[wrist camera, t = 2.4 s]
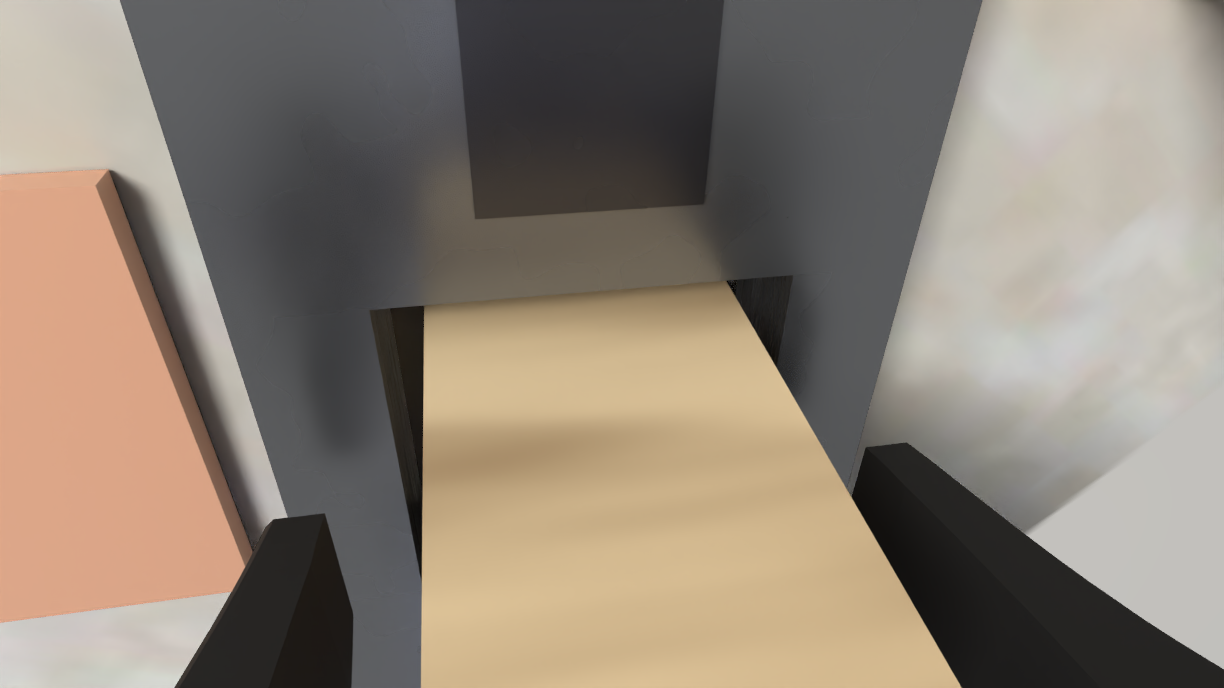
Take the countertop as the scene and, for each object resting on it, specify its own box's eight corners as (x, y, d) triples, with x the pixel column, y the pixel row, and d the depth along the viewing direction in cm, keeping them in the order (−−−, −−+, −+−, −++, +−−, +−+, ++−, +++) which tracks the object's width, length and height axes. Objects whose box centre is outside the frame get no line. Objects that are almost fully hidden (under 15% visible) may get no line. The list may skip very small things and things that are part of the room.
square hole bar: (760, 614, 19) (791, 695, 17) (373, 673, 18) (367, 768, 16) (932, -190, 10) (1038, -182, 8) (128, -206, 8) (51, -198, 6)
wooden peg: (684, 446, 15) (868, 931, 9) (452, 472, 14) (471, 1022, 8) (705, 244, 13) (985, 727, 6) (424, 265, 12) (419, 833, 6)
